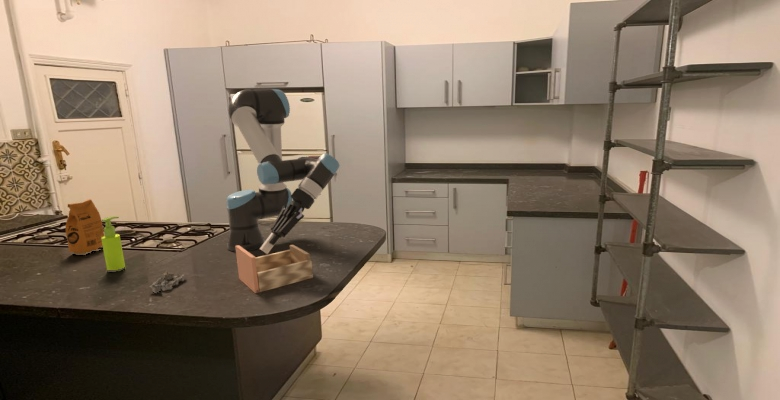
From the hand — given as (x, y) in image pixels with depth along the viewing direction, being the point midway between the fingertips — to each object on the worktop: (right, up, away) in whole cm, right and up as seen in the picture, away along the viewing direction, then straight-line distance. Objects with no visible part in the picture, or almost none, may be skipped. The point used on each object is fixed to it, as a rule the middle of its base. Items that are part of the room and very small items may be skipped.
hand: (263, 251), depth 146 cm
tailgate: (-4, -11, -1) cm, 12 cm away
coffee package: (-88, -6, +46) cm, 100 cm away
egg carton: (-32, -13, +3) cm, 35 cm away
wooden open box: (+4, -10, +5) cm, 12 cm away
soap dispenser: (-61, -10, +22) cm, 65 cm away
